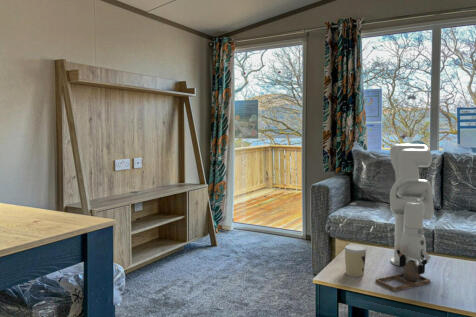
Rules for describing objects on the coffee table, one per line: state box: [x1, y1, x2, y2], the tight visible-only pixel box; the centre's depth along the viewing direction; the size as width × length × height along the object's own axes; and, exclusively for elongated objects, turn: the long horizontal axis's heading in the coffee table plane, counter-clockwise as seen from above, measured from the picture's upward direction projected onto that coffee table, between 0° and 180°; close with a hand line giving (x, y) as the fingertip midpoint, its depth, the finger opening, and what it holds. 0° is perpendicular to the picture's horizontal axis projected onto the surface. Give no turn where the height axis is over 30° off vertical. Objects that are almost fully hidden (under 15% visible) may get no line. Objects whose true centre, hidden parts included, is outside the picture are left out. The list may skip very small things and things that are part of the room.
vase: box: [402, 260, 421, 283], centre depth 166 cm, size 7×7×9 cm
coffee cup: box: [344, 244, 367, 277], centre depth 174 cm, size 9×9×12 cm
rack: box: [375, 272, 431, 292], centre depth 165 cm, size 21×13×2 cm, turn 115°
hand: (411, 269), depth 166 cm, fingers open, 9 cm apart
